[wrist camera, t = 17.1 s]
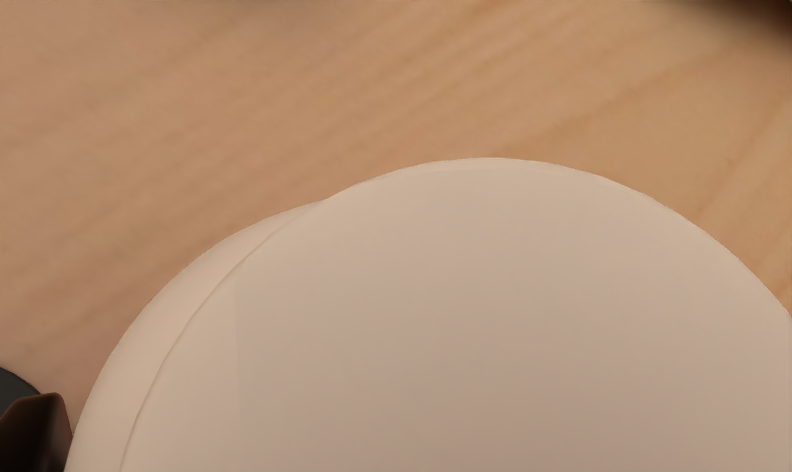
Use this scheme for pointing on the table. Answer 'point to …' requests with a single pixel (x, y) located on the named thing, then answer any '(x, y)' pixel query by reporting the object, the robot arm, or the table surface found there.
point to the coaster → (13, 389)
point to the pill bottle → (453, 339)
